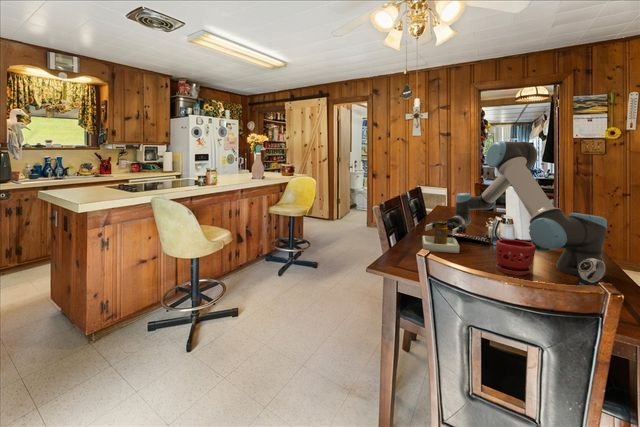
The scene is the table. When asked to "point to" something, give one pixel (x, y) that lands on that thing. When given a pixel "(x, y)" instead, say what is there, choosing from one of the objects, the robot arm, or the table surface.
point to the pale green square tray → (440, 245)
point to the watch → (590, 271)
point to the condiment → (440, 233)
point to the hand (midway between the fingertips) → (439, 230)
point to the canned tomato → (540, 247)
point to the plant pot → (514, 256)
